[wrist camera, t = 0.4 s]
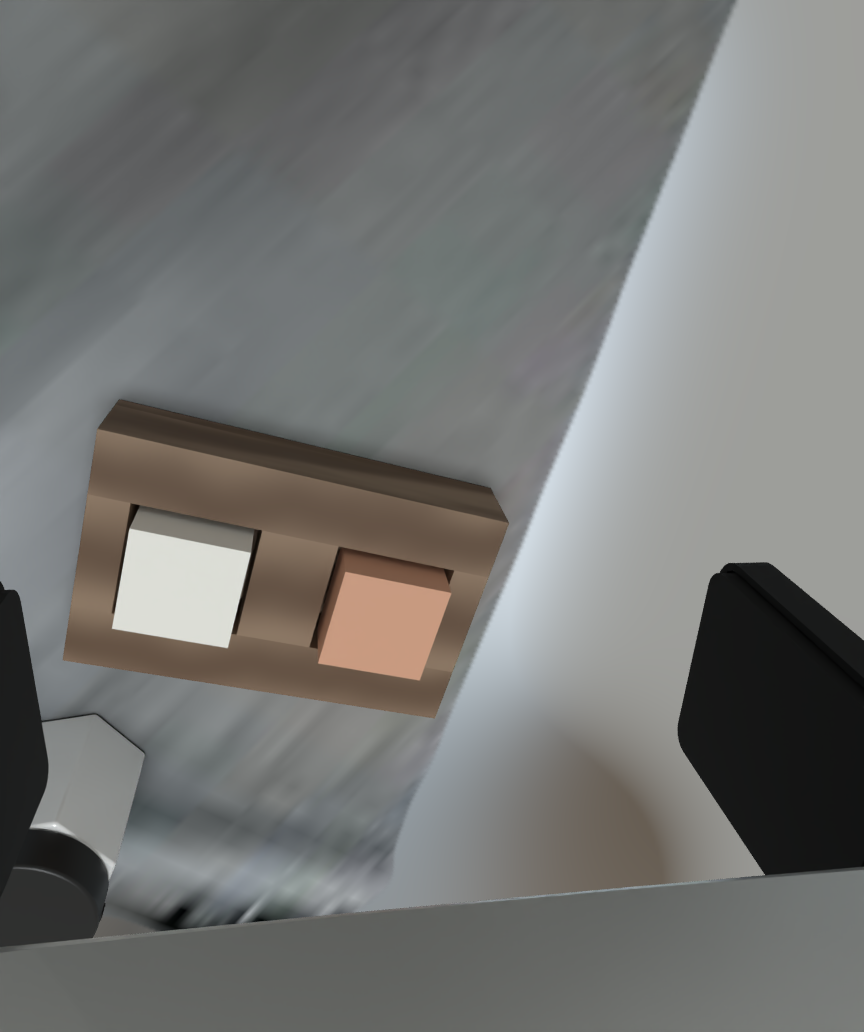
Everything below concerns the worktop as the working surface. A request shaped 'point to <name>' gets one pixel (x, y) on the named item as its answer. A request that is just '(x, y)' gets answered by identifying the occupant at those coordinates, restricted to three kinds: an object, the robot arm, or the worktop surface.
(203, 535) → the offwhite key
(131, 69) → the worktop surface
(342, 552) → the terracotta key
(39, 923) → the jar
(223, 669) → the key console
